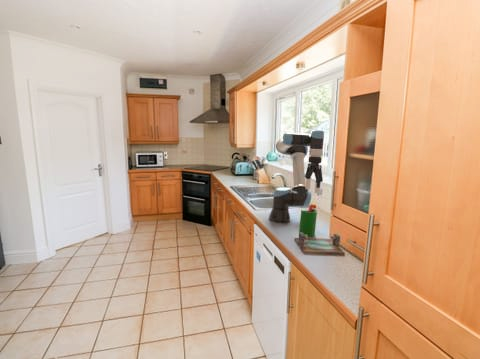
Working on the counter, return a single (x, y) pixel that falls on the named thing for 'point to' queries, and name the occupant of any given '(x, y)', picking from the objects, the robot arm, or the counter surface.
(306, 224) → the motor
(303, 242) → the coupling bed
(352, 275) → the counter surface
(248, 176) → the counter surface
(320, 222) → the counter surface
